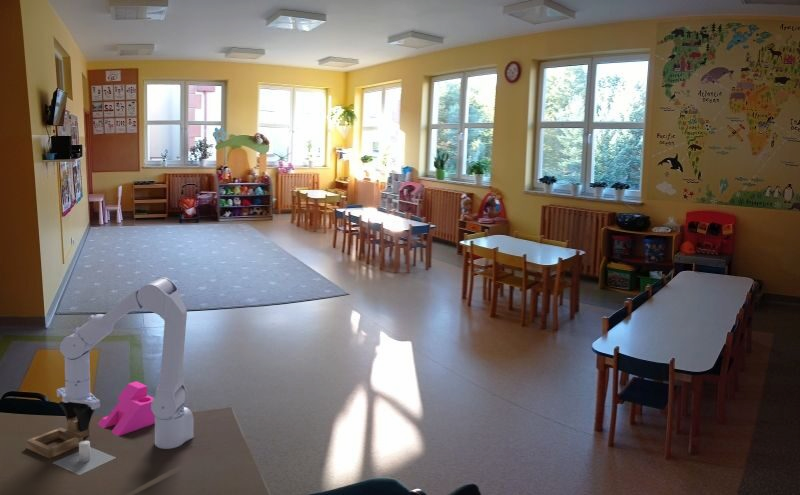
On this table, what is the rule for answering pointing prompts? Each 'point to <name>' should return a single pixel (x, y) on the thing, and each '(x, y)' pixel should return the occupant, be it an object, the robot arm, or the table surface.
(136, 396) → the bracket
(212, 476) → the table surface
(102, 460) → the peg stand
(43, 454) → the walnut link
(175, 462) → the table surface
